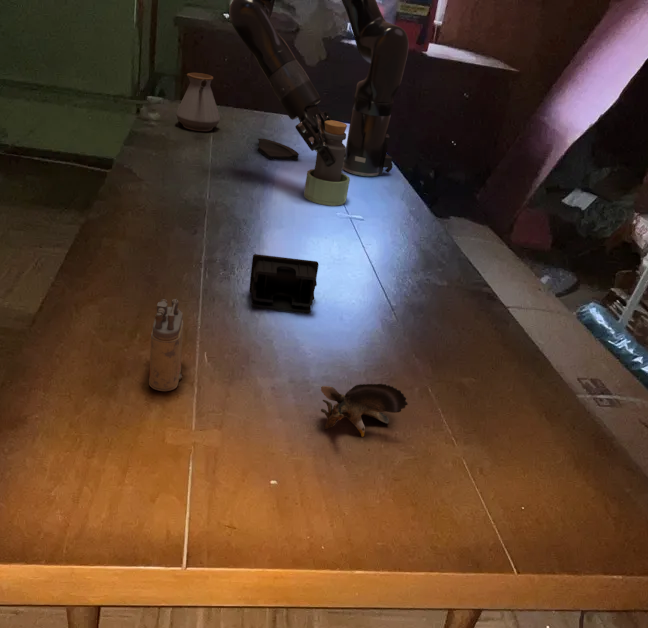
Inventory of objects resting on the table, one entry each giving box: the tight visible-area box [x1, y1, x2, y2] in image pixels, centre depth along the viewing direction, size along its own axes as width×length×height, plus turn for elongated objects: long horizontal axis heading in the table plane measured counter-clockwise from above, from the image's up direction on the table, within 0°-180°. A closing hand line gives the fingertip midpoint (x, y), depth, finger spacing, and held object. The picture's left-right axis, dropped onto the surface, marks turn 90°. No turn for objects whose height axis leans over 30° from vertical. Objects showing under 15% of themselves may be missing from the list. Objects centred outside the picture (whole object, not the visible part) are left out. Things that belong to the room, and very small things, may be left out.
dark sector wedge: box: [257, 138, 300, 161], centre depth 183 cm, size 8×14×2 cm, turn 23°
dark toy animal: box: [320, 383, 409, 438], centre depth 87 cm, size 8×7×9 cm
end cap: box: [248, 253, 319, 315], centre depth 112 cm, size 10×7×7 cm
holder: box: [303, 168, 351, 207], centre depth 158 cm, size 9×9×5 cm
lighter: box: [148, 298, 185, 392], centre depth 88 cm, size 7×4×10 cm, turn 2°
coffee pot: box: [175, 72, 221, 132], centre depth 185 cm, size 21×12×15 cm, turn 10°
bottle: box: [313, 119, 348, 182], centre depth 155 cm, size 6×6×15 cm
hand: (337, 161), depth 154 cm, fingers closed on bottle, 6 cm apart
